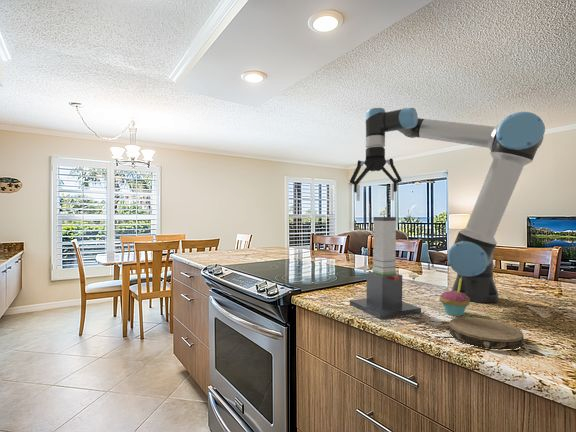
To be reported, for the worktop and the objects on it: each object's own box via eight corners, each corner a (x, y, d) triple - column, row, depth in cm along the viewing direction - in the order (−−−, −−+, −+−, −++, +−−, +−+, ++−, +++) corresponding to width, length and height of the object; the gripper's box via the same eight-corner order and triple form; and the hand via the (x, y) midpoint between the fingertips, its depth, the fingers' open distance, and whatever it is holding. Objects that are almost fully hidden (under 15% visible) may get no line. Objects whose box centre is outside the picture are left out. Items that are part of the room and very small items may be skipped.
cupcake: (462, 310, 104) (463, 273, 104) (475, 318, 96) (475, 278, 96) (435, 309, 105) (435, 272, 105) (445, 317, 97) (445, 278, 97)
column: (385, 282, 109) (385, 217, 109) (395, 285, 104) (396, 217, 104) (372, 283, 107) (373, 216, 107) (383, 286, 102) (383, 217, 102)
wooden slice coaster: (533, 342, 79) (534, 330, 79) (506, 358, 70) (506, 345, 70) (467, 324, 92) (467, 313, 92) (437, 336, 83) (437, 324, 83)
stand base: (387, 300, 116) (387, 268, 116) (421, 312, 101) (421, 276, 101) (349, 304, 110) (349, 271, 110) (380, 318, 95) (380, 280, 95)
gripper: (408, 147, 129) (408, 200, 129) (346, 151, 138) (346, 201, 138) (407, 143, 122) (407, 199, 122) (342, 148, 131) (342, 200, 131)
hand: (375, 200), depth 130 cm, fingers open, 13 cm apart
